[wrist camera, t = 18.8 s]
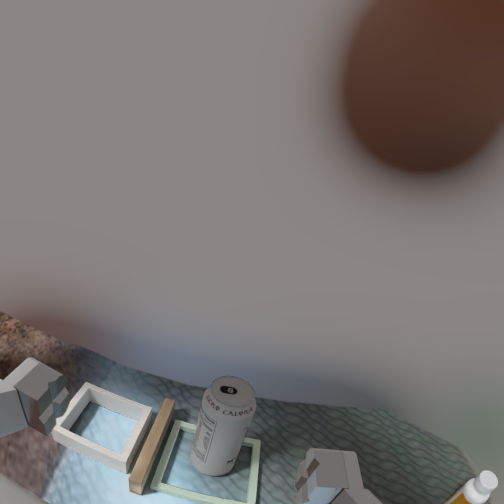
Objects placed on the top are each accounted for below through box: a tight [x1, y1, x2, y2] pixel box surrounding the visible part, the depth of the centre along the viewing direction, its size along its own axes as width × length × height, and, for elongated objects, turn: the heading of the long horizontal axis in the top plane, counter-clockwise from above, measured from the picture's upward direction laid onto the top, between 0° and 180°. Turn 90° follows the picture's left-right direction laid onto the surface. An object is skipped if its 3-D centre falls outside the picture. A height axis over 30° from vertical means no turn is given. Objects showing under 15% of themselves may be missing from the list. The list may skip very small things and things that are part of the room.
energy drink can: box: [190, 376, 257, 476], centre depth 34 cm, size 6×6×15 cm
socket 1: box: [51, 382, 152, 474], centre depth 35 cm, size 11×11×3 cm
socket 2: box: [150, 419, 261, 504], centre depth 35 cm, size 13×13×1 cm
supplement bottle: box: [444, 471, 498, 504], centre depth 26 cm, size 5×5×10 cm
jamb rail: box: [129, 398, 175, 495], centre depth 35 cm, size 2×16×4 cm, turn 176°
